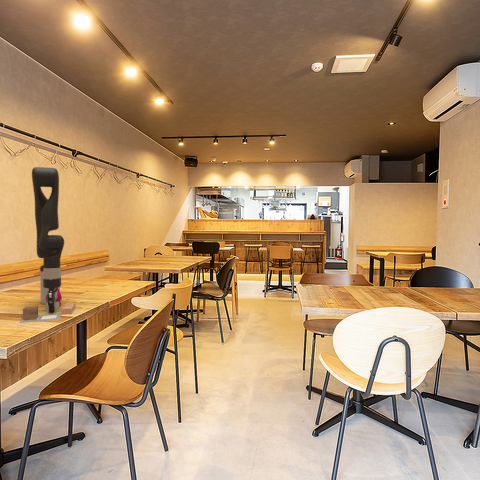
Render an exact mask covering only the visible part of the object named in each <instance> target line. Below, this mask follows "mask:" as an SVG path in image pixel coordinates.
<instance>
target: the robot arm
mask: <svg viewBox="0 0 480 480" xmlns="http://www.w3.org/2000/svg"><path fill="white" fill-rule="evenodd" d="M59 175H60V174H59V171H58V169H57V168H55V167H43V166H42V167H40V166H35V167H33V168H32V171H31V180H32V189H33V196H34V197H33V198H34V219H35V226H36V227H35V228H36V229H35V231H36V256H37V257H38V258H39V259H42V260H43V264H42V265H40V267H39V272H40V275H39V276H40V277H39V279H40V280H39V281H40V287H39V289H40V304H42V305H46V304H47V301H48V306H49V312H48V314H54V313H56V312H55V311H54V306H55V302H57V292H58V291H57V288H59V291H60V292H61V287H62V270H61V259H62V258H61V257H62V253H63V249H64V247H65V238H64V237H63V236H62V235H59V234H52V235H51V234H49V232H52V231H56V230H58V229H59V228H60V223H59V209H58V208H59V199H60V198H59V195H60V176H59ZM42 188H51V192H50V196H49V197H48V198H47V197H46V195H45V194H44V192H43V190H42ZM46 296H47V297H48V298H47V301H46ZM50 302H53V303H50Z"/></svg>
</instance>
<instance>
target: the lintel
mask: <svg viewBox="0 0 480 480" xmlns="http://www.w3.org/2000/svg"><path fill="white" fill-rule="evenodd" d="M75 309H76V302H67V303H65V304H64V305H63V306H62V308H61V313H62V314H61V315H72V313H73V312H74V311H75Z"/></svg>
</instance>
